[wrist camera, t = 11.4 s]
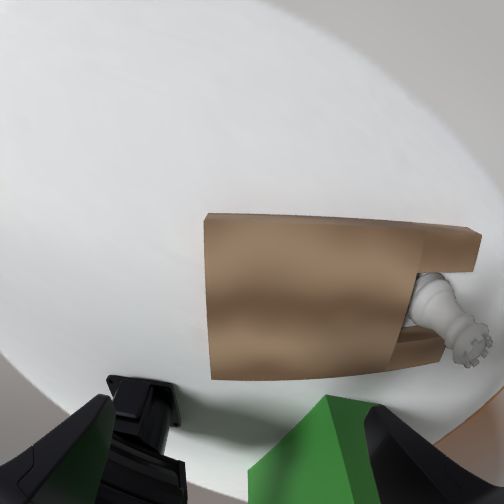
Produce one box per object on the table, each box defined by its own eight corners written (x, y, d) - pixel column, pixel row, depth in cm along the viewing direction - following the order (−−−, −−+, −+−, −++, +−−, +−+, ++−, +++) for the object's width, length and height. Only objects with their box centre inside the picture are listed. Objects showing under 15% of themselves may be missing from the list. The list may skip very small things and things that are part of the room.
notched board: (429, 349, 23) (438, 361, 21) (213, 362, 22) (211, 379, 20) (467, 227, 18) (482, 235, 17) (208, 213, 18) (203, 221, 16)
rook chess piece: (403, 276, 20) (462, 336, 12) (447, 264, 20) (509, 314, 12) (399, 323, 21) (445, 388, 14) (440, 310, 21) (490, 365, 14)
